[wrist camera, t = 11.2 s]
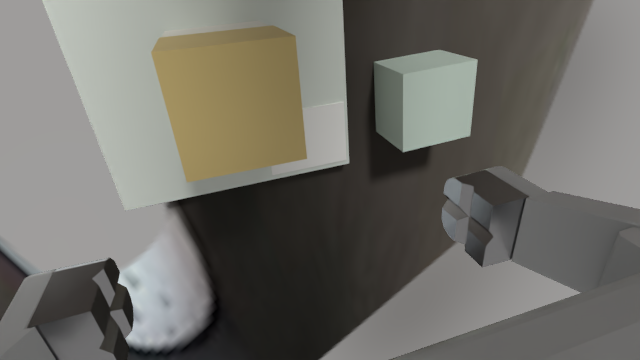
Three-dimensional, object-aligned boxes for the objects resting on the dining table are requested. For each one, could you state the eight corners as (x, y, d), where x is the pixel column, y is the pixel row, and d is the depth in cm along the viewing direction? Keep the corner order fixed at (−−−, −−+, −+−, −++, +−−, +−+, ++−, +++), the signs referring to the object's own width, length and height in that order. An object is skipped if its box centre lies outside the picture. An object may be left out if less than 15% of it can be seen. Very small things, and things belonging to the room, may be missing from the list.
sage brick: (372, 61, 30) (403, 74, 26) (438, 49, 31) (477, 59, 27) (375, 130, 33) (402, 152, 29) (435, 117, 34) (470, 135, 30)
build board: (19, -77, 20) (-40, -98, 15) (332, -91, 24) (371, -111, 19) (127, 203, 29) (114, 251, 24) (344, 157, 33) (373, 190, 28)
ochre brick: (159, 37, 19) (151, 52, 15) (273, 25, 21) (295, 35, 16) (187, 144, 22) (186, 182, 18) (285, 127, 23) (307, 158, 19)
